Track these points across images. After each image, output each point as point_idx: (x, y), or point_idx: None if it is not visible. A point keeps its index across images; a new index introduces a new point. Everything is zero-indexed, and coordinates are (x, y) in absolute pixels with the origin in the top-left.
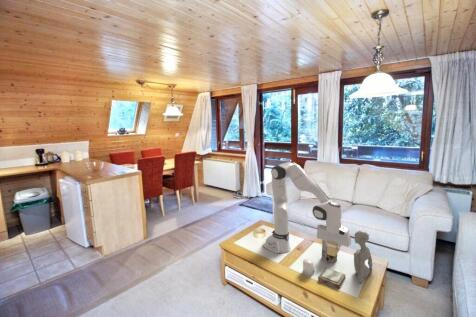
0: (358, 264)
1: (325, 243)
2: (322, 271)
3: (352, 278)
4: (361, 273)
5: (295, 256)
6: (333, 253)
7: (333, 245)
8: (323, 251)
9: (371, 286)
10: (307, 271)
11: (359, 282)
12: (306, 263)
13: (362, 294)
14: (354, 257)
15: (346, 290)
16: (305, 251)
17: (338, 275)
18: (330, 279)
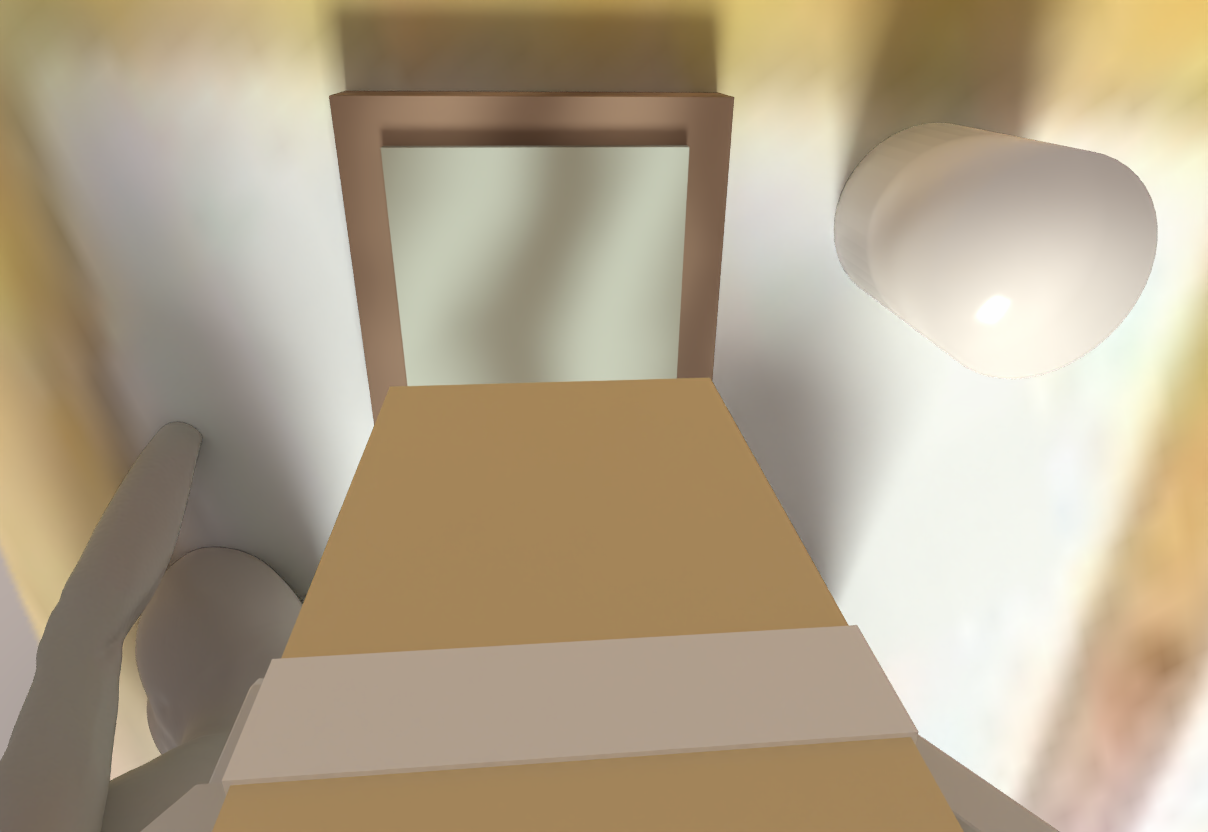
0: (219, 718)
1: (968, 770)
2: (716, 310)
3: (306, 478)
4: (97, 551)
5: (1181, 480)
6: (443, 437)
7: (387, 769)
8: None
9: (20, 464)
10: (954, 134)
11: (166, 433)
12: (1075, 168)
13: (3, 193)
14: None
15: (237, 131)
16: (1058, 659)
17: (448, 353)
18: (515, 148)
